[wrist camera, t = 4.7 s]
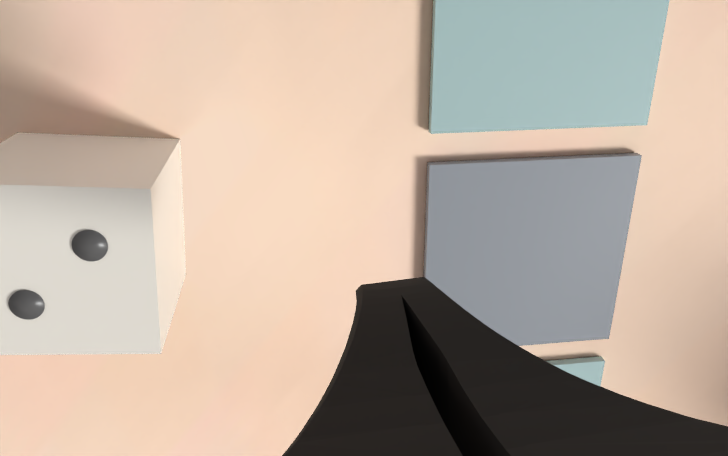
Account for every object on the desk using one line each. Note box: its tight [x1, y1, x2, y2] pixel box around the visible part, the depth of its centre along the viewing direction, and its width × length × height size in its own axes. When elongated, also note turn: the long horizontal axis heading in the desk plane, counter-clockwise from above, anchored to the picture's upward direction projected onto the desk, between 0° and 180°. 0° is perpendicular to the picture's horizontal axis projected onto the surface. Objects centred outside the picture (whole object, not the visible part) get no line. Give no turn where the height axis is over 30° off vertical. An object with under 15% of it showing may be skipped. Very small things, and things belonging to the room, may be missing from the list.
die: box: [0, 132, 186, 355], centre depth 16 cm, size 4×4×4 cm
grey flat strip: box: [424, 0, 669, 386], centre depth 21 cm, size 7×39×1 cm, turn 0°
